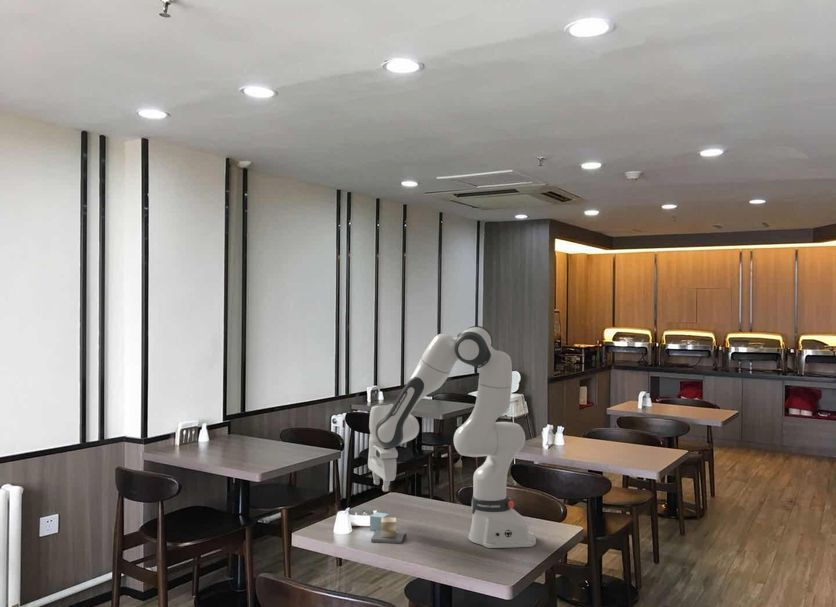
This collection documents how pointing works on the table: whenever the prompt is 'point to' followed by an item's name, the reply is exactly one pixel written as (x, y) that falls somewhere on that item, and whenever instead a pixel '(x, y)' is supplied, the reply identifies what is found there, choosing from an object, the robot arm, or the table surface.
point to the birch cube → (388, 527)
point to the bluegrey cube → (377, 520)
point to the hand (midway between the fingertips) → (380, 487)
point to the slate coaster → (396, 539)
